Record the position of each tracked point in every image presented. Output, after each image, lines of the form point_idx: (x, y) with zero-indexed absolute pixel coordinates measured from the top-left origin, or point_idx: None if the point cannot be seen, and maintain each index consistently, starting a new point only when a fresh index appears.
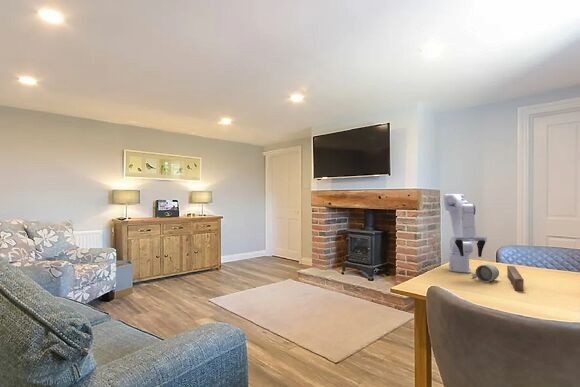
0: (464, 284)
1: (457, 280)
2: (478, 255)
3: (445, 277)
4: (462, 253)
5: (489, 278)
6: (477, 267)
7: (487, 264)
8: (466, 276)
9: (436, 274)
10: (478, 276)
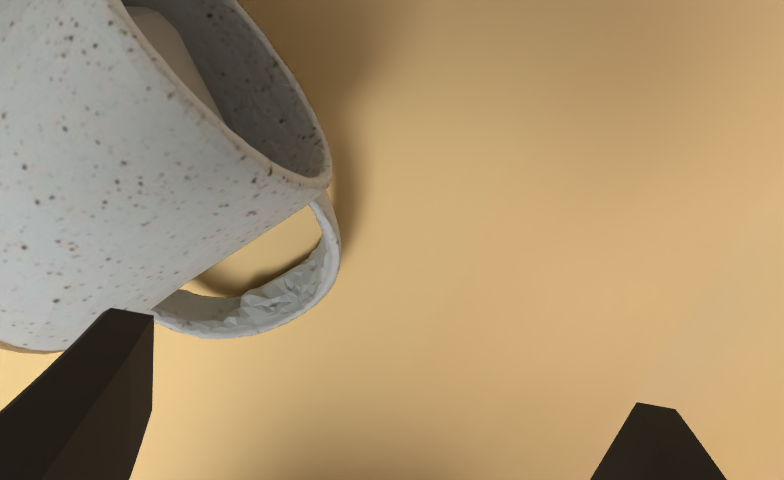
0: None
1: (654, 118)
2: (138, 440)
3: (737, 292)
4: (697, 460)
5: (149, 11)
6: (293, 181)
7: (7, 270)
8: (377, 342)
9: (767, 447)
10: (286, 150)
